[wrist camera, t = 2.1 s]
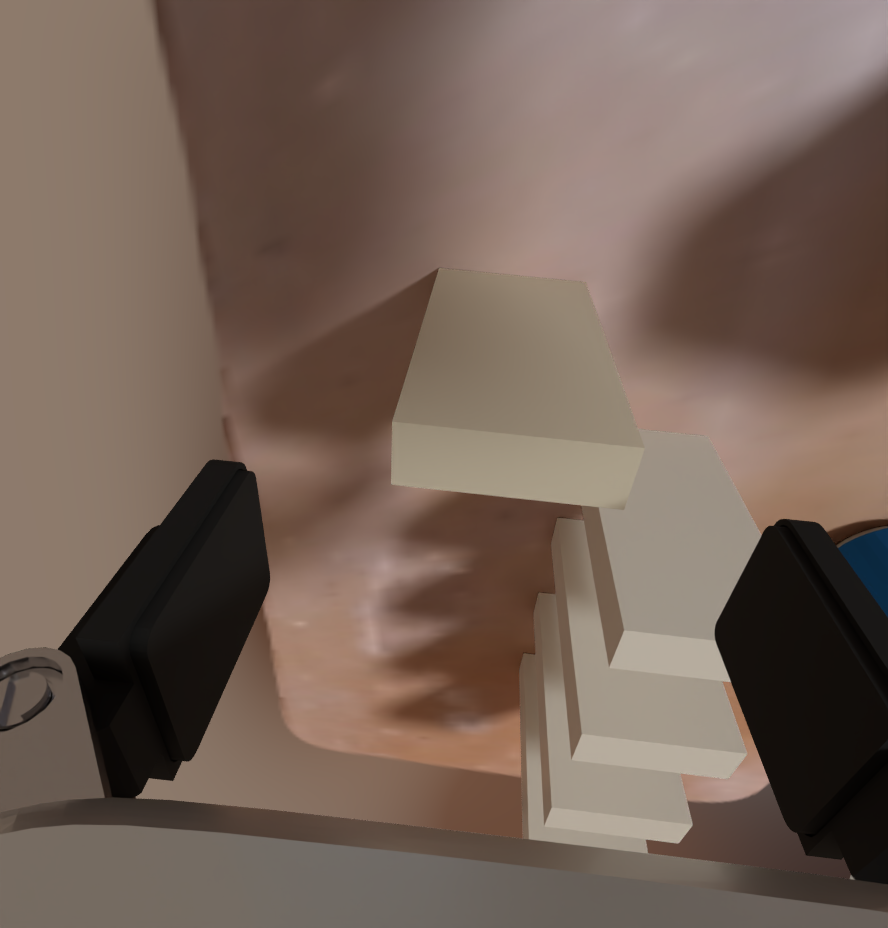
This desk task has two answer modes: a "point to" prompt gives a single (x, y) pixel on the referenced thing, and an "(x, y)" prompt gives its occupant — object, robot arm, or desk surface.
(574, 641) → the domino
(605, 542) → the domino
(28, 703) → the robot arm
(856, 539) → the beverage can
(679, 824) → the domino
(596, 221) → the desk surface
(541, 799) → the domino
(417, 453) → the domino
